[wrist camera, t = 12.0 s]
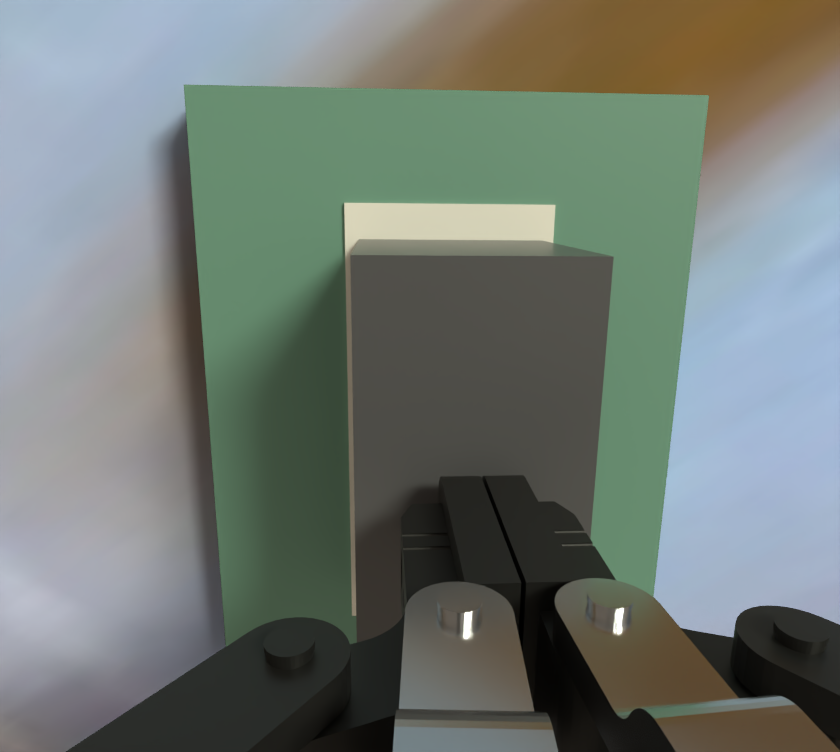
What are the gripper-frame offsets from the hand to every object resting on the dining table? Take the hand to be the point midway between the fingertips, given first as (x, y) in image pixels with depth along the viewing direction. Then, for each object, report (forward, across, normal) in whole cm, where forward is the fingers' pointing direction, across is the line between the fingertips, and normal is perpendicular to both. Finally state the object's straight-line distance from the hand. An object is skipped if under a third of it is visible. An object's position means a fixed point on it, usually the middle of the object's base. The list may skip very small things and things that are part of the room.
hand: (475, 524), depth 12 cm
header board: (+7, 0, 0) cm, 7 cm away
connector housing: (+5, 0, 0) cm, 5 cm away
